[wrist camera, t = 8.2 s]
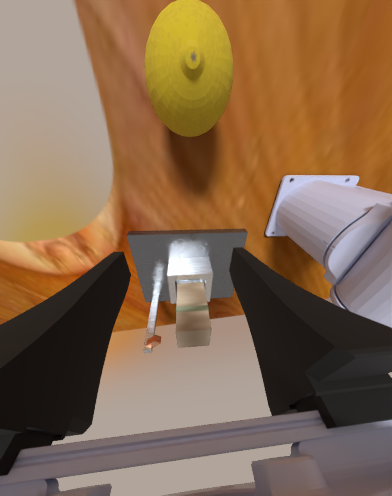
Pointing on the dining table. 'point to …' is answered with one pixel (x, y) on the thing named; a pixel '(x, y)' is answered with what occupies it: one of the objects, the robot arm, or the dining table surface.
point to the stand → (182, 265)
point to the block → (192, 315)
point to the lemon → (188, 67)
